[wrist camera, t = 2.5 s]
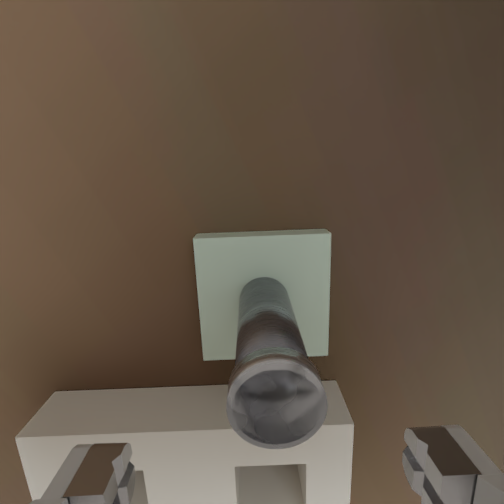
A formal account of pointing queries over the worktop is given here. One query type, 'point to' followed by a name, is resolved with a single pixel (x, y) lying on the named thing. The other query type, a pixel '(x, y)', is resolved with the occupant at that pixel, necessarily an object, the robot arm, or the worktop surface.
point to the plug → (272, 372)
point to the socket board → (190, 447)
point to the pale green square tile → (262, 265)
